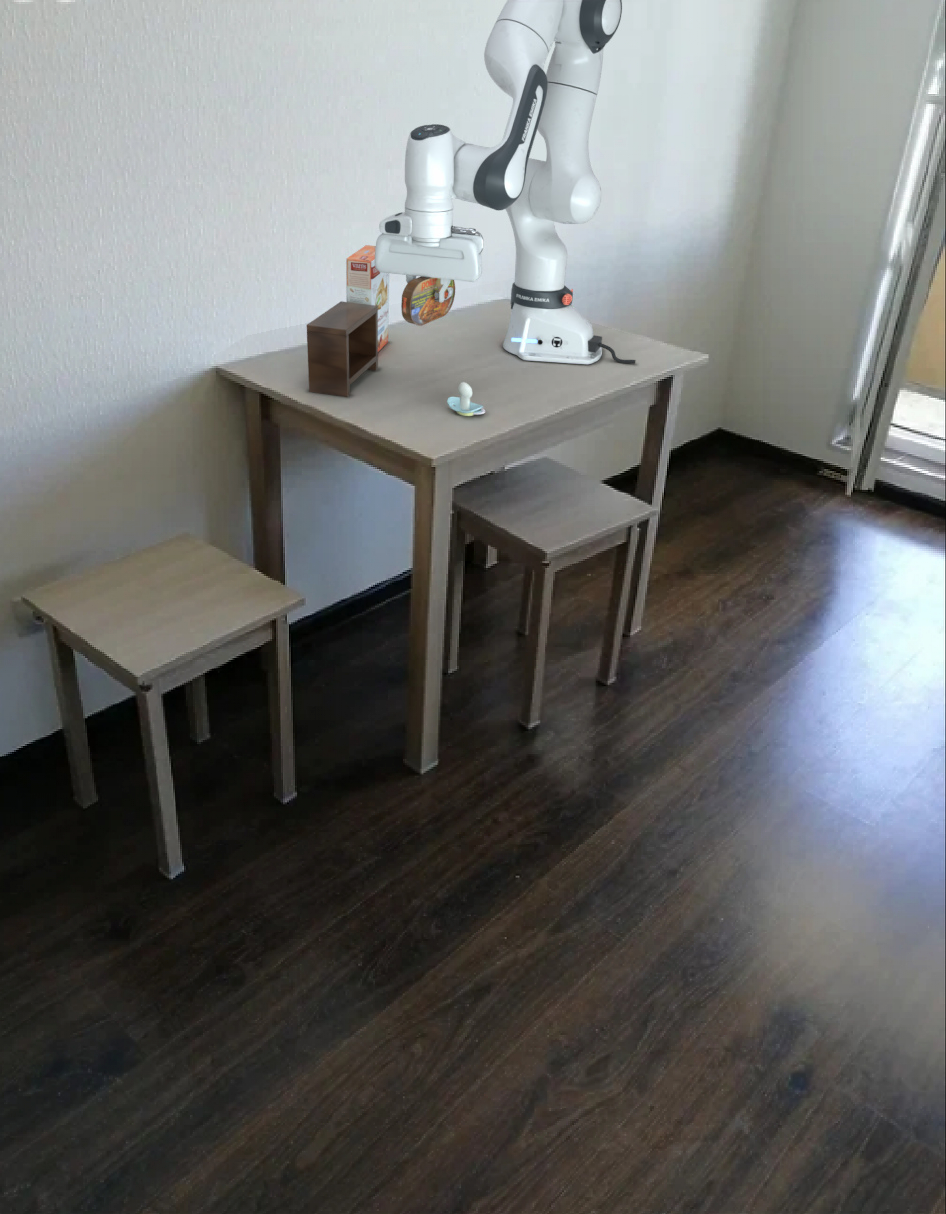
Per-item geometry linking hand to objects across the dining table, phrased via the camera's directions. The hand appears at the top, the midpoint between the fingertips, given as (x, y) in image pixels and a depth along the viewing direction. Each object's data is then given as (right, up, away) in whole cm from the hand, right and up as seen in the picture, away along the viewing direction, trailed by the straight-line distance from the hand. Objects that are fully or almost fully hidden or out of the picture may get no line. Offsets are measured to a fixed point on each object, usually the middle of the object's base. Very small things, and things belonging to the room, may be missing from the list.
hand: (427, 300), depth 188 cm
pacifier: (+8, -21, +1) cm, 23 cm away
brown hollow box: (-17, -12, +13) cm, 25 cm away
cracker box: (-14, -2, +30) cm, 33 cm away
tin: (0, -3, +2) cm, 4 cm away
